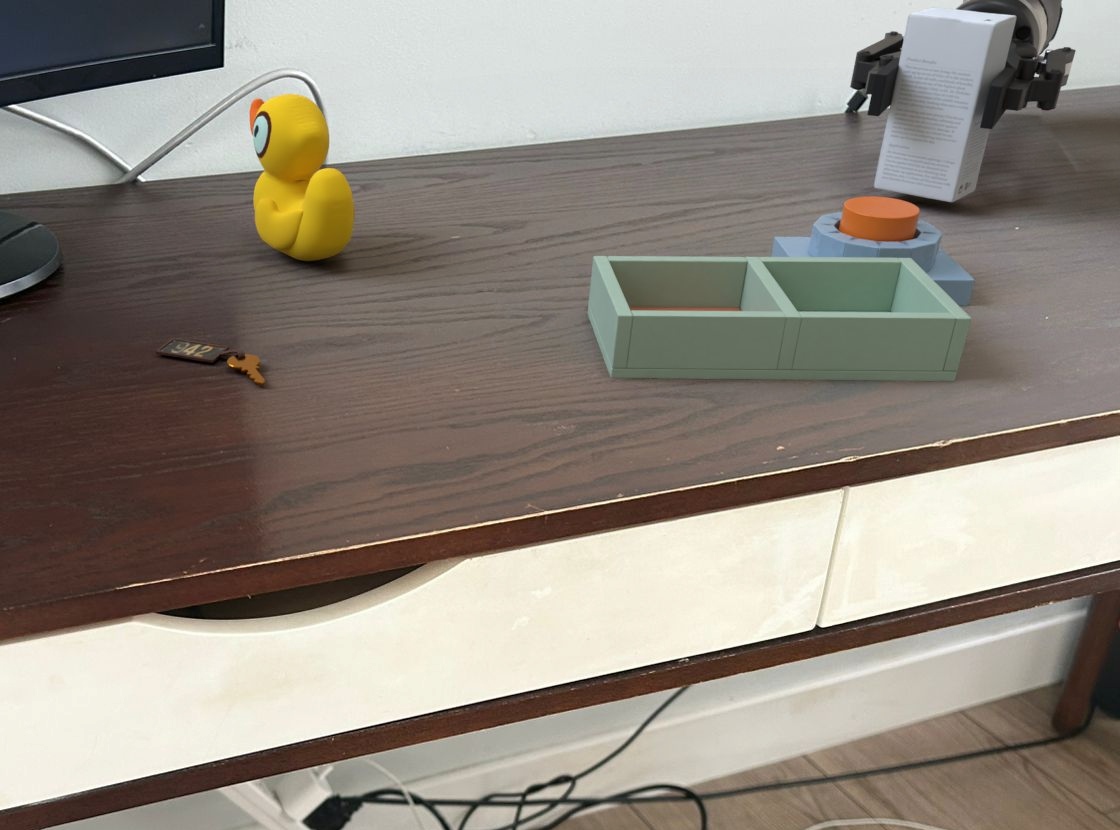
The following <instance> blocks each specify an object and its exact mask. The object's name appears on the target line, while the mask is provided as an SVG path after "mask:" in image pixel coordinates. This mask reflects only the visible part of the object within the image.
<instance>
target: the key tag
mask: <svg viewBox="0 0 1120 830" xmlns="http://www.w3.org/2000/svg"><path fill="white" fill-rule="evenodd" d="M155 354H156V355H162V356H168V357H174V358H180V359H186V360H193V361H198V362H206V363H214V362H216V361H217V360H218V359H219V358H225V359H227V360H226V365H227V366H228V367H229V368H230V369H233V370H236V371H240V372H241V373H242V374H244V373H246V376H247V377H249V379H250V381H253V382H254V384H255V385H259V386H265V384H266V380H265V378H264V377H263V376H262V375H261V373H260V372H259V370H260V365H261V359H260V357H259V356H257V355H254V354H249V353H245V352H244V350H243V349H242V350H241V349H230V346H229V345H222V344H215V343H209V342H203V341H197V340H191V339H184V338H179V337H172V338H170V339H169V340H168V341H166V342H165V343H163V344H162V345H161V346H159V347H158V348H157V349H156V350H155Z"/></svg>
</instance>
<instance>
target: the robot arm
mask: <svg viewBox="0 0 1120 830" xmlns="http://www.w3.org/2000/svg"><path fill="white" fill-rule="evenodd" d="M1062 1H1063V0H962V3H961V4H959V6H957V7H956V8H955V9H957V10H967V11H975V12H982V13H993V14H1004V15H1015V16H1016V23H1015V27H1014V31H1013V35H1012V39H1011V43H1010V47H1009V51H1008V56H1007V60H1006V64H1005V68H1004V70H1003V71H1002V72H1001V73H1000V74H999V76H998V77H997V78H996V79H995V80H994V82H993V83H992V84H991V85H990V89H989V93H988V97H987V101H986V105H985V109H984V113H983V117H982V121H981V125H980V128H986V129H990V130H993V128H994V127H995V126H996V124H997V123H998V122H999V120H1000V119H1001V117H1002V116H1003V115H1004V113H1005V112H1006V111H1016V112H1018V111H1022V109H1025V108H1027V106H1028V103H1032V102H1033V103H1034V102H1035V103H1036V108H1037V109H1041V111H1046V112H1047V111H1052V110H1055V109H1056V107H1057V104H1058V101H1059V97H1060V92H1061V90H1062V87H1064V86H1066V85H1067V84H1068V80H1069V76H1070V73H1071V68H1072V66H1073V62H1074V58H1075V55H1076V49H1075V48H1074V49H1073V48H1072V47H1069V46H1064V47H1061V48H1060V47H1059V48H1056V49H1047V48H1049V46H1050V43H1051V42H1052V41H1053V40H1054V39H1055V37H1056V36H1057V33H1058V30H1059V27H1060V24H1061V19H1062V16H1063V12H1064V11H1063V10H1064V8H1063V7H1062V6H1063V4H1062ZM903 41H904V35H903V34H902V33H899V32H898V31H896V30H895V31H894V30H891V31H890V32H885V34H884V38H883V39H880V40H878V41H877V42H874V43H873V44H871V45H868V46H866V47H864V48H862V49H861V50H858V51H857V52H856V55H855V60H854V64H853V65H854V66H853V70H852V75H851V81H850V86H849V87H850V88H851V89H853V90H856V91H862V90H864V93H865V95H870V100H869V104H868V109H867V116H872V117H879V116H880V115H882V114H883V113H884V112H885V111H886V110H887V109H888V108H890V104H891V100H892V95H893V90H894V85H895V80H896V76H897V71H898V66H899V60H900V56H901V50H902V46H903ZM1044 51H1045V52H1044ZM1043 53H1044V55H1043V56H1042V54H1043ZM1035 75H1037V76H1035Z"/></svg>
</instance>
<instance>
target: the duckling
mask: <svg viewBox="0 0 1120 830" xmlns="http://www.w3.org/2000/svg"><path fill="white" fill-rule="evenodd" d="M249 125H250V126H249V128H250V132H251V135H252V139H253V146H254V151H255V153H256V156H257V159H258V161H259V163H260V165H261V166H262V168H263V172H262V173H261V174H260V175H259V177H258V179H257V180H256V183H255V186H254V190H253V198H252V199H253V202H252V203H253V209H254V223H255V228H256V231H257V233H258V235H259V237H260V239H261V241H263V242H264V243H266V244H267V245H268V246H270V247H271V248H272V249H273V250H276V251H278V252H280V253H283V254H285V255H286V256H289V257H291V258H293V259H295V260H297V261H303V262H314V261H320V260H325V259H328V258H332V257H334V256H336V255H338V254H339V253H341V252H342V251H343V250H344V249H346V247H347V245H349V243H350V241H351V239H352V236H353V232H354V222H355V216H356V215H355V212H356V211H355V203H354V197H353V193H352V188H351V186H350V184H349V182H348V179H347V178H346V176H345V175H344V174H343V172H341V171H340V170H339V169H337V168H333V167H326V168H322V166H323V165H324V163H325V162H326V159H327V156H328V153H329V149H330V132H329V127H328V123H327V120H326V118H325V115H324V113H323V112H322V110H321V108H320V107H319V106H318V105H317V104H316V103H315V102H314V101H313V100H311V99H310V98H308V97H307V96H304V95H303V94H302V95H301V94H296V93H284V94H280V95H276V96H273V97H271V98H269V99H268V100H266V101H264V100H263V99H262V98H255V99H253V100H252V102H251V104H250V108H249ZM320 168H322V169H320Z"/></svg>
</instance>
